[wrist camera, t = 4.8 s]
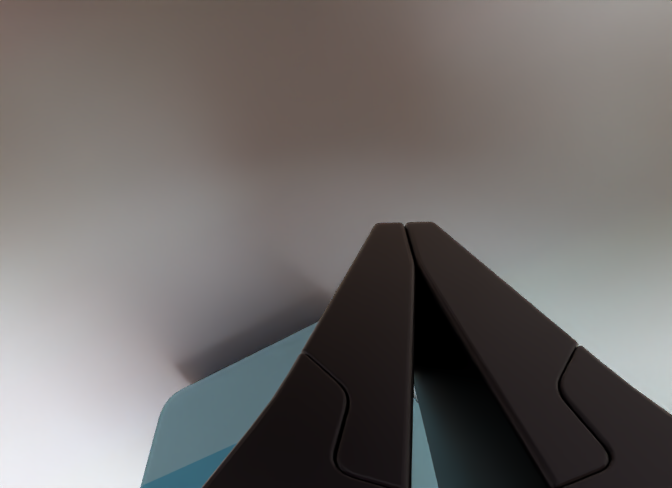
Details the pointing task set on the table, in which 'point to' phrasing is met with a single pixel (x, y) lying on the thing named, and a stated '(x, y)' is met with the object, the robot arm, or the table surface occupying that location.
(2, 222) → the table surface
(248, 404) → the data package
